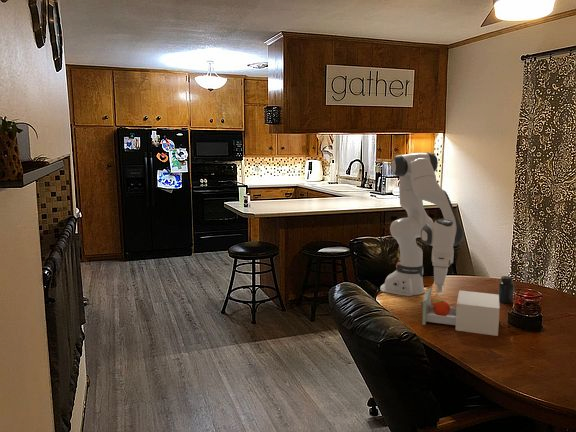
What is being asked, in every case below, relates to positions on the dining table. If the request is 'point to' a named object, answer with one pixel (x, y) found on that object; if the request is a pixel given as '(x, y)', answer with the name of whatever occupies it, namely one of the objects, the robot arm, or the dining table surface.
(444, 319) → the grey drawer
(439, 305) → the clementine
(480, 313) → the block
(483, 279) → the dining table surface
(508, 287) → the supplement bottle
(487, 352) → the dining table surface
